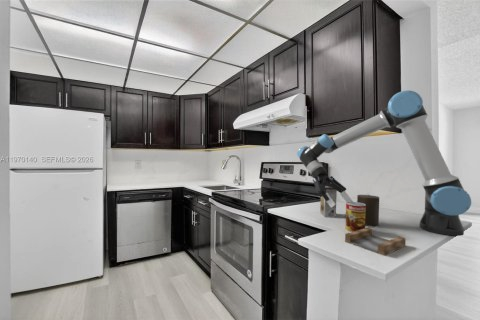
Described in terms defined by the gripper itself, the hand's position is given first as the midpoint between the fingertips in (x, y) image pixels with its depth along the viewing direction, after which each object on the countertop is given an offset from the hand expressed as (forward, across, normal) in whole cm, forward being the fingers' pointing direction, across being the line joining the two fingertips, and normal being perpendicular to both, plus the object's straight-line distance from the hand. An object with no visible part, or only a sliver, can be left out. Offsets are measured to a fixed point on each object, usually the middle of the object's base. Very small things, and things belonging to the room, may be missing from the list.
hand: (342, 204), depth 106 cm
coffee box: (-4, -12, -20) cm, 24 cm away
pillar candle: (+10, -16, -5) cm, 20 cm away
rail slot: (+21, +8, +6) cm, 23 cm away
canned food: (+12, 0, -3) cm, 12 cm away
